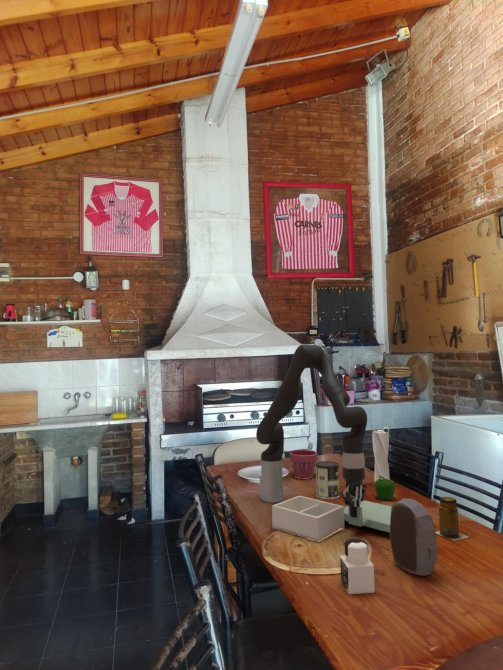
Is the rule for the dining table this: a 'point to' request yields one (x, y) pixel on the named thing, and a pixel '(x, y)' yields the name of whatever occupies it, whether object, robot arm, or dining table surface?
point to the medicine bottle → (357, 568)
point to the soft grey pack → (413, 537)
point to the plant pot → (303, 462)
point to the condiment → (449, 519)
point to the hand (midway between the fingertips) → (355, 516)
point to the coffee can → (327, 480)
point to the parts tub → (307, 517)
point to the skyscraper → (381, 453)
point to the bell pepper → (384, 488)
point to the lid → (370, 516)
